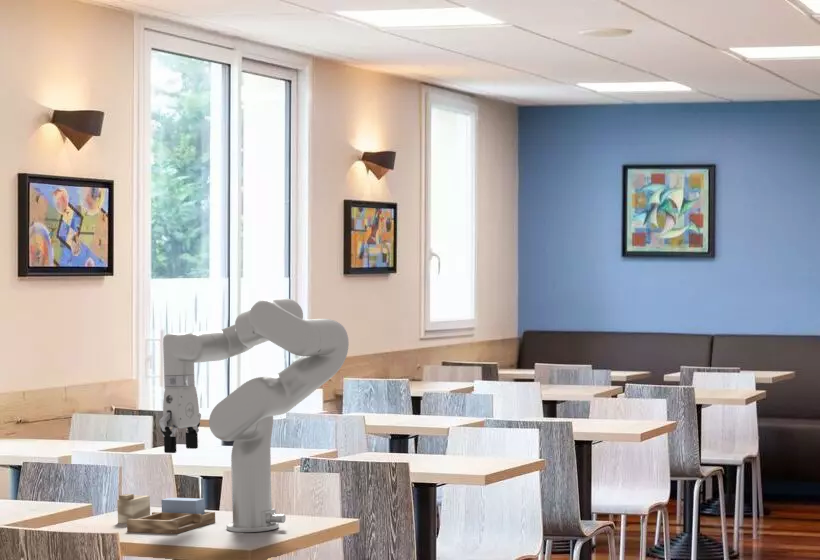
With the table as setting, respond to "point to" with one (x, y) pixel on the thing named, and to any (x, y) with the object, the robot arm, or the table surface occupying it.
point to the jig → (169, 522)
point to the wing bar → (183, 505)
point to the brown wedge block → (132, 507)
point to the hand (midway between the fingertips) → (181, 450)
